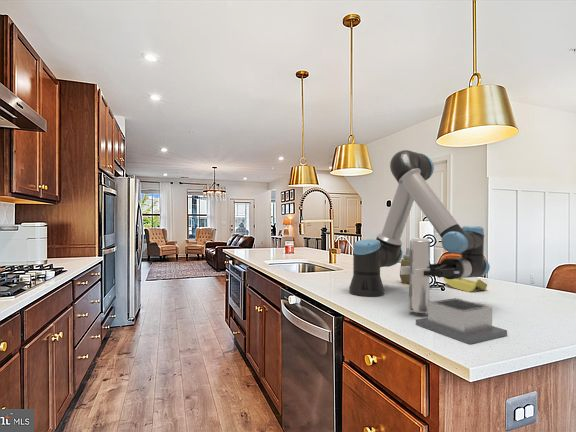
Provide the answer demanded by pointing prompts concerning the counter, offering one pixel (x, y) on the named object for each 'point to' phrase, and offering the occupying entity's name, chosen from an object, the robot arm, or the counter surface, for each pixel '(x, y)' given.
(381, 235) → the robot arm
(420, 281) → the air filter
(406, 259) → the squeeze bottle
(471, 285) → the banana
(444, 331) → the plate
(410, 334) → the counter surface
